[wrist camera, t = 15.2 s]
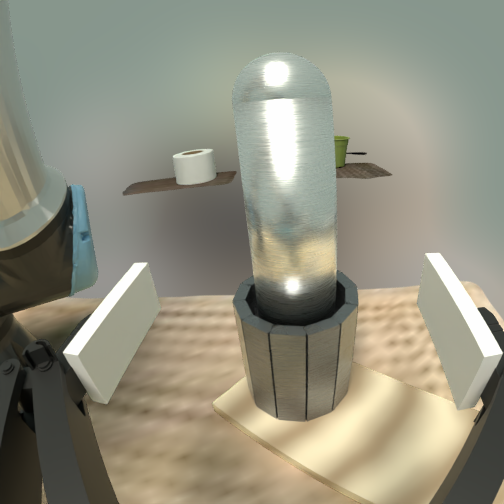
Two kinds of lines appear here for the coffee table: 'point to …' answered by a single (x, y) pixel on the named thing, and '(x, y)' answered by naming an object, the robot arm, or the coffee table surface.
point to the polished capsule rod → (288, 186)
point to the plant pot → (340, 150)
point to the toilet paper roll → (194, 166)
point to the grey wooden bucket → (297, 356)
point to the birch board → (365, 438)
